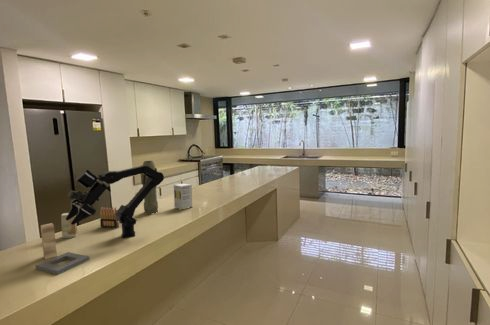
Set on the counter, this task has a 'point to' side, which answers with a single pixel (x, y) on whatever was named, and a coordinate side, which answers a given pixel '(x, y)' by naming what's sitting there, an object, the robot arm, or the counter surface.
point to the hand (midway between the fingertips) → (69, 222)
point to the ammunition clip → (108, 218)
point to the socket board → (55, 269)
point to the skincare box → (68, 227)
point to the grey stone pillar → (151, 198)
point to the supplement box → (183, 196)
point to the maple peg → (48, 241)
